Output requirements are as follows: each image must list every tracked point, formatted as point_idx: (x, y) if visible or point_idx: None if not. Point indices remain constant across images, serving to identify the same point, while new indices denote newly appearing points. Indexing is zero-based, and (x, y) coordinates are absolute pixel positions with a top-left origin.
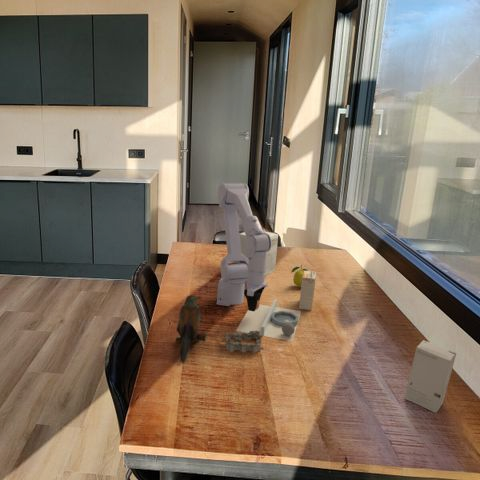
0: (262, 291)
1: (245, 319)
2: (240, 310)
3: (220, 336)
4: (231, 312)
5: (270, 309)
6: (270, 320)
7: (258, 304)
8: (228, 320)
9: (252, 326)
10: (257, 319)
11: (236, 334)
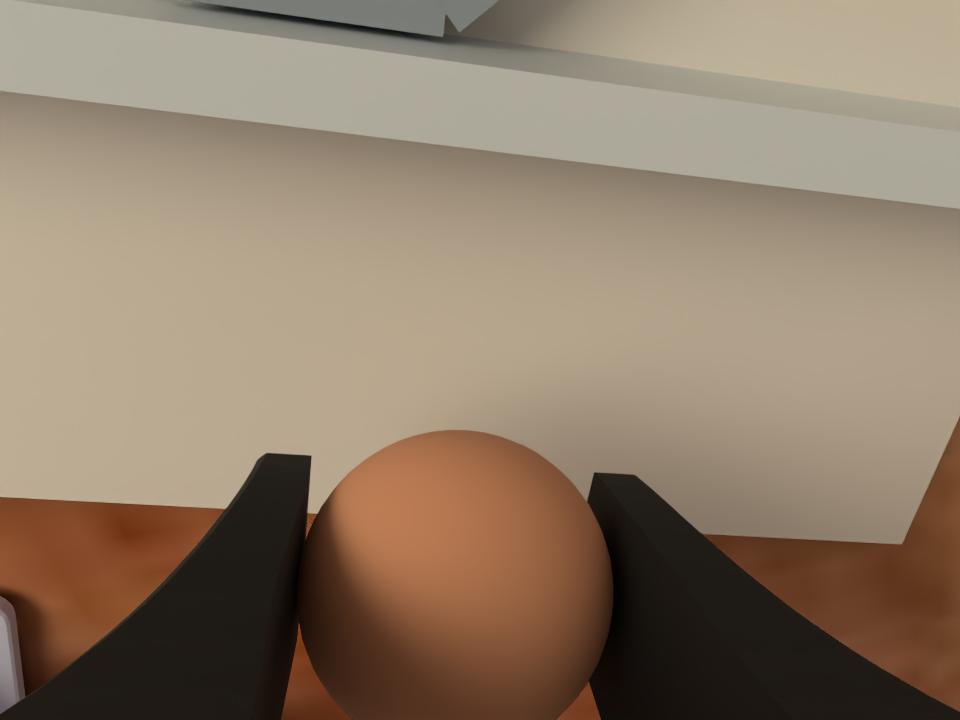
0: (123, 701)
1: None
2: (76, 585)
3: (944, 649)
4: None
5: (251, 96)
6: None
7: (542, 500)
8: None
9: (745, 350)
10: (447, 300)
11: None
